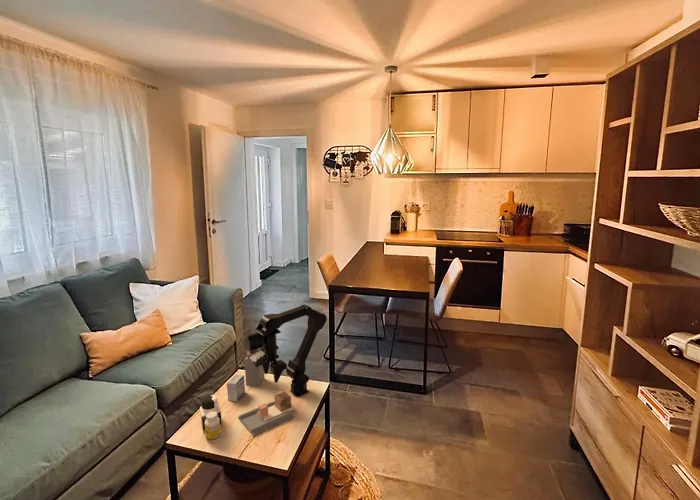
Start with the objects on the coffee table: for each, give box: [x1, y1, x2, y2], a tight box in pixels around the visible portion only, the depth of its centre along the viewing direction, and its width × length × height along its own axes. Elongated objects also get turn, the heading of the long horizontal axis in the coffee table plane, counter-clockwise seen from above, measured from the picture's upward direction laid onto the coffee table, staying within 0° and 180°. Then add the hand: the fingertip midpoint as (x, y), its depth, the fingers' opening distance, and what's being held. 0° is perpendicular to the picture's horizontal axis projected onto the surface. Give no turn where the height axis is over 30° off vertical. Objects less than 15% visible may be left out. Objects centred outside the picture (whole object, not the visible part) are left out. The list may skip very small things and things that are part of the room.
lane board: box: [237, 400, 295, 437], centre depth 155 cm, size 18×14×2 cm
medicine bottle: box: [199, 394, 223, 433], centre depth 150 cm, size 7×7×12 cm
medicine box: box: [226, 374, 246, 402], centre depth 170 cm, size 8×4×9 cm, turn 168°
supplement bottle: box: [204, 411, 222, 443], centre depth 143 cm, size 5×5×10 cm
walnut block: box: [274, 391, 292, 412], centre depth 159 cm, size 5×5×5 cm
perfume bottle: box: [244, 348, 266, 387], centre depth 181 cm, size 7×7×18 cm
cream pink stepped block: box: [257, 403, 297, 422], centre depth 157 cm, size 14×7×5 cm, turn 129°
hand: (271, 378), depth 163 cm, fingers open, 9 cm apart
